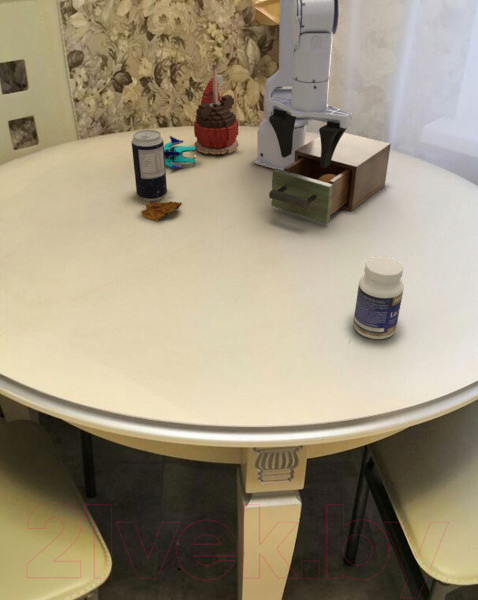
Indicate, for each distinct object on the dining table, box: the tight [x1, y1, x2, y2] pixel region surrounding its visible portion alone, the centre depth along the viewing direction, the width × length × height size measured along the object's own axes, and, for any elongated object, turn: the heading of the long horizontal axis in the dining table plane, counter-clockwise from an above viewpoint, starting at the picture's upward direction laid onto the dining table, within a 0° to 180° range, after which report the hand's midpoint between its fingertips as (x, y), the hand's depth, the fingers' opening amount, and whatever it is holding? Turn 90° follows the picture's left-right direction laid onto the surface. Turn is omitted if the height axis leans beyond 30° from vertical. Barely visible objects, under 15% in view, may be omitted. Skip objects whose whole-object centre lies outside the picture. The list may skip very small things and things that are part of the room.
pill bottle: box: [352, 255, 404, 340], centre depth 80 cm, size 6×6×10 cm
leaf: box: [141, 201, 183, 222], centre depth 111 cm, size 6×7×2 cm
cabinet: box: [294, 132, 392, 212], centre depth 116 cm, size 14×13×9 cm
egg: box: [318, 174, 336, 183], centre depth 110 cm, size 4×4×6 cm
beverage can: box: [130, 129, 168, 202], centre depth 113 cm, size 6×6×12 cm
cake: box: [193, 63, 239, 155], centre depth 131 cm, size 11×9×18 cm
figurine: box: [164, 135, 197, 170], centre depth 127 cm, size 7×6×12 cm
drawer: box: [268, 157, 352, 224], centre depth 109 cm, size 17×11×7 cm
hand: (305, 160), depth 104 cm, fingers open, 7 cm apart
